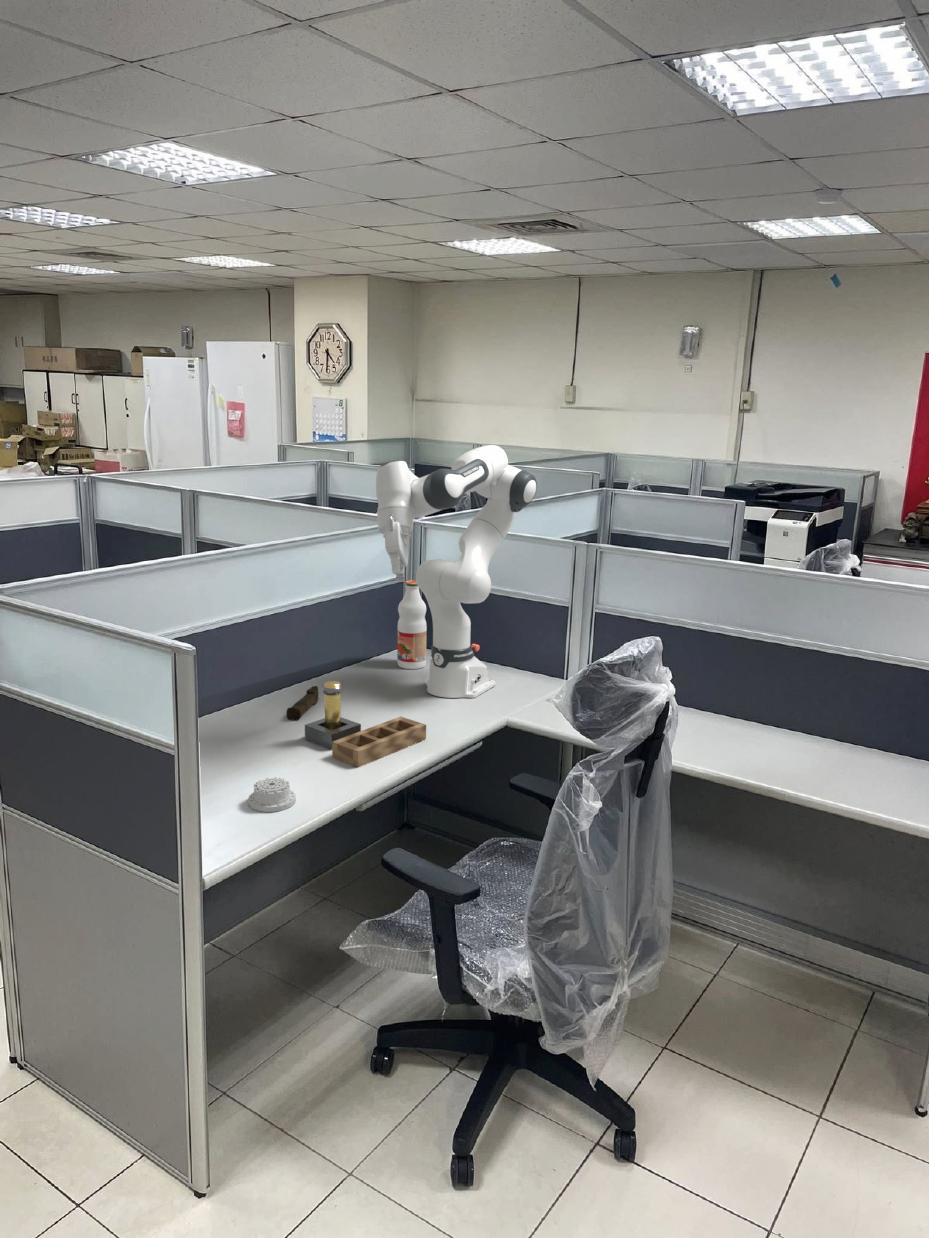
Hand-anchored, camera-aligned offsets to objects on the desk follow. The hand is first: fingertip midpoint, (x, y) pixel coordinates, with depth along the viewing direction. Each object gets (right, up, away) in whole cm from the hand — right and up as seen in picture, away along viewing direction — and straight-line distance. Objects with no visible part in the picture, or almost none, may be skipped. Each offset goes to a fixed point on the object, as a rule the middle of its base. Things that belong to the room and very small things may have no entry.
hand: (398, 577), depth 221 cm
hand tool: (-28, -36, +27) cm, 53 cm away
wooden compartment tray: (-4, -43, 0) cm, 43 cm away
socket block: (-17, -41, +5) cm, 45 cm away
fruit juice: (-1, -26, +69) cm, 74 cm away
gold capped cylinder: (-17, -41, +5) cm, 45 cm away
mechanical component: (-25, -50, -30) cm, 64 cm away
